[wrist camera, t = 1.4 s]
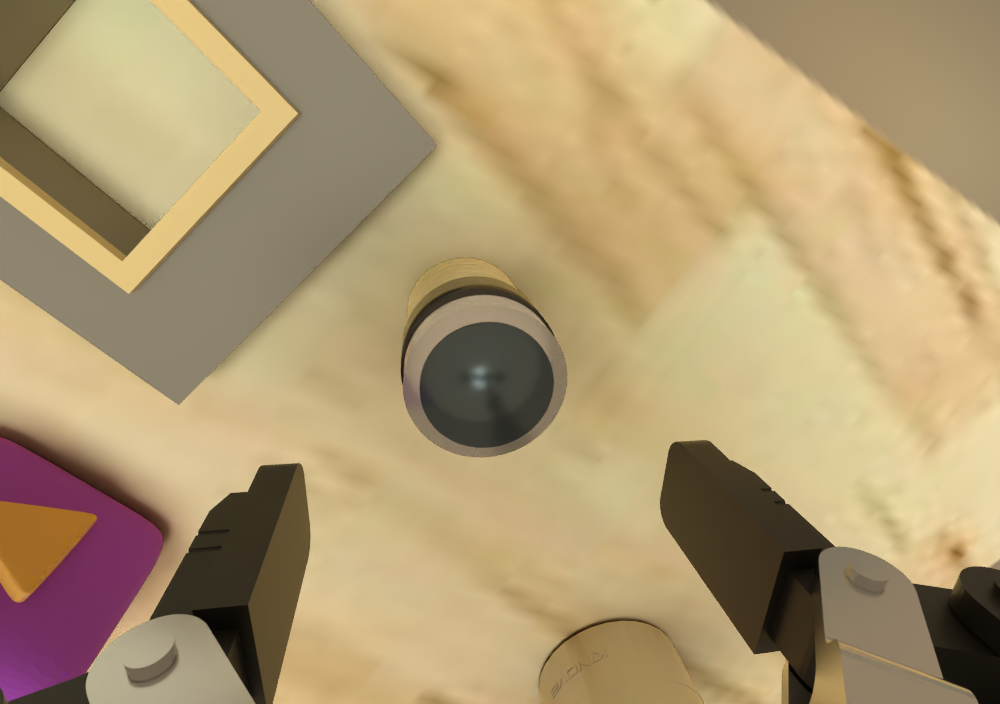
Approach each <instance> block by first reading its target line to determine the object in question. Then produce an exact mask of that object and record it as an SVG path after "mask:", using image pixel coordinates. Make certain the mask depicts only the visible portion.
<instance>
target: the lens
mask: <svg viewBox="0 0 1000 704" xmlns="http://www.w3.org/2000/svg"><path fill="white" fill-rule="evenodd" d="M401 379H402V384H403V393H404V400H405V404H406V407H407V410H408V412H409V415H410V417H411V419H412V420H413V422H414V424H415V425H416V426H417V428H418V429H419V430H420V432H421V433H422V434H423V435H424V436H426V437H427V438H428V439H429V440H430V441H432V442H433V443H434V444H436V445H437V446H439V447H441V448H443V449H445V450H447V451H450V452H452V453H455V454H459V455H463V456H470V457H491V456H497V455H502V454H506V453H509V452H512V451H514V450H517V449H519V448H521V447H523V446H525V445H526V444H528V443H530V442H531V441H533V440H534V439H535V438H537V437H538V436H539V435H540V434H541V433H542V432H543V431H544V430H545V429H546V428H547V427H548V426H549V425H550V423H551V422H552V421H553V419H554V418H555V416H556V415H557V413H558V411H559V409H560V407H561V405H562V402H563V399H564V396H565V392H566V386H567V368H566V362H565V358H564V355H563V352H562V350H561V348H560V345H559V344H558V342H557V340H556V339H555V337H554V334H553V332H552V330H551V328H550V327H549V325H548V323H547V322H546V321H545V320H544V318H543V317H542V316H541V315H540V313H539V312H538V311H537V310H536V308H535V307H534V306H533V305H532V303H531V302H530V301H529V300H528V298H527V297H526V296H525V295H523V294H522V293H521V292H520V291H519V290H517V288H516V287H515V286H514V285H513V283H512V282H511V281H510V280H509V278H508V277H507V276H506V275H505V274H504V273H503V272H502V271H501V270H499V269H498V268H497V267H495V266H493V265H492V264H490V263H488V262H485V261H482V260H478V259H474V258H457V259H451V260H448V261H445V262H442V263H440V264H438V265H436V266H434V267H433V268H431V269H430V270H429V271H427V272H426V273H425V274H424V275H423V276H422V277H421V278H420V279H419V281H418V282H417V284H416V285H415V287H414V289H413V291H412V293H411V295H410V298H409V302H408V308H407V324H406V326H405V330H404V335H403V345H402V358H401Z"/></svg>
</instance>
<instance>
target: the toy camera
mask: <svg viewBox="0 0 1000 704" xmlns="http://www.w3.org/2000/svg"><path fill="white" fill-rule="evenodd" d="M162 544H163V537H162V534H161V532H160V531H159V529H158V528H156V527H155V526H154V525H153V524H152V523H151V522H149V521H148V520H146V519H145V518H143V517H142V516H141V515H139V514H137V513H136V512H134V511H132V510H131V509H129V508H127V507H126V506H124V505H122V504H120V503H119V502H117V501H115V500H114V499H112V498H110V497H109V496H107V495H105V494H103V493H102V492H100V491H98V490H97V489H95V488H93V487H92V486H90V485H88V484H86V483H85V482H83V481H81V480H80V479H78V478H76V477H75V476H73V475H71V474H69V473H68V472H66V471H64V470H63V469H61V468H59V467H58V466H56V465H54V464H52V463H50V462H49V461H47V460H45V459H43V458H42V457H40V456H38V455H36V454H35V453H33V452H31V451H29V450H27V449H26V448H24V447H22V446H20V445H18V444H16V443H14V442H12V441H9V440H7V439H4V438H2V437H0V688H1V689H2V691H3V693H4V695H5V698H6V700H7V702H8V701H11V700H14V699H17V698H19V697H22V696H25V695H28V694H31V693H34V692H36V691H39V690H42V689H45V688H48V687H51V686H53V685H56V684H59V683H62V682H65V681H67V680H70V679H73V678H75V677H78V676H80V675H83V674H85V673H86V672H87V670H88V669H89V667H90V666H91V664H92V663H93V661H94V660H95V658H96V657H97V655H98V654H99V652H100V651H101V649H102V647H103V646H104V644H105V643H106V641H107V640H108V638H109V637H110V635H111V633H112V632H113V630H114V629H115V627H116V626H117V624H118V623H119V621H120V619H121V618H122V616H123V615H124V613H125V612H126V610H127V609H128V607H129V606H130V604H131V602H132V601H133V599H134V598H135V596H136V595H137V593H138V592H139V590H140V588H141V587H142V585H143V584H144V582H145V580H146V579H147V577H148V575H149V574H150V572H151V571H152V569H153V567H154V565H155V563H156V561H157V559H158V557H159V555H160V552H161V549H162Z"/></svg>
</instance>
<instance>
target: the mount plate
mask: <svg viewBox="0 0 1000 704" xmlns="http://www.w3.org/2000/svg"><path fill="white" fill-rule="evenodd" d="M74 1H75V0H0V90H1V89H2V88H3V87H4V85H5V84H6V83H7V82H8V81H9V79H10V78H11V77H12V76H13V75H14V73H15V72H16V71H17V70H18V68H19V67H20V66H21V65H22V64H23V62H24V61H25V60H26V59H27V58H28V56H29V55H30V54H31V53H32V52H33V50H34V49H35V48H36V47H37V45H38V44H39V43H40V42H41V41H42V39H43V38H44V37H45V36H46V35H47V33H48V32H49V31H50V30H51V28H52V27H53V26H54V25H55V24H56V22H57V21H58V20H59V19H60V18H61V16H62V15H63V14H64V13H65V12H66V10H67V9H68V8H69V7H70V5H71V4H72V3H73V2H74ZM150 1H151V2H152V3H153V4H154V5H155V6H156V7H157V8H158V9H159V10H160V11H161V12H162V13H163V14H164V15H165V16H166V17H167V18H168V19H169V20H170V21H171V22H172V23H173V24H174V25H175V26H176V27H177V28H178V29H179V30H180V31H181V32H182V33H183V34H184V35H185V36H186V37H187V38H188V39H189V40H190V41H191V42H192V43H193V44H194V45H195V46H196V47H197V48H198V49H199V50H200V51H201V52H202V53H203V54H204V55H205V56H206V57H207V58H208V59H209V60H210V61H211V62H212V63H213V64H214V65H215V66H216V67H217V68H218V69H219V70H220V71H221V72H222V73H223V74H224V75H225V76H226V77H227V78H228V79H229V80H230V81H231V82H232V83H233V84H234V85H235V86H236V87H237V88H238V89H239V90H240V91H241V92H242V93H243V94H244V95H245V96H246V97H247V98H248V99H249V100H250V101H251V102H252V103H253V104H254V105H255V106H256V107H257V108H258V109H259V110H260V113H259V114H258V115H257V116H256V117H255V118H254V119H253V120H252V121H251V122H250V123H249V125H248V126H247V127H246V128H245V129H244V130H243V131H242V132H241V133H240V134H239V135H238V136H237V138H236V139H235V140H234V141H233V142H232V143H231V144H230V145H229V146H228V147H227V148H226V149H225V151H224V152H223V153H222V154H221V155H220V156H219V157H218V158H217V159H216V160H215V161H214V162H213V164H212V165H211V166H210V167H209V168H208V169H207V170H206V171H205V172H204V173H203V174H202V175H201V177H200V178H199V179H198V180H197V181H196V182H195V183H194V184H193V185H192V186H191V187H190V189H189V190H188V191H187V192H186V193H185V194H184V195H183V196H182V197H181V198H180V199H179V200H178V202H177V203H176V204H175V205H174V206H173V207H172V208H171V209H170V210H169V211H168V212H167V213H166V215H165V216H164V217H163V218H162V219H161V220H160V221H159V222H158V223H157V224H156V225H155V226H154V228H153V229H152V230H151V231H150V230H149V229H148V228H146V227H145V226H144V225H143V224H141V223H140V222H139V221H138V220H137V219H135V218H134V217H133V216H132V215H131V214H129V213H128V212H127V211H126V210H124V209H123V208H122V207H121V206H120V205H118V204H117V203H116V202H115V201H113V200H112V199H111V198H110V197H109V196H107V195H106V194H105V193H104V192H102V191H101V190H100V189H99V188H98V187H96V186H95V185H94V184H93V183H92V182H90V181H89V180H88V179H87V178H85V177H84V176H83V175H82V174H81V173H79V172H78V171H77V170H76V169H74V168H73V167H72V166H71V165H70V164H68V163H67V162H66V161H65V160H63V159H62V158H61V157H60V156H59V155H57V154H56V153H55V152H54V151H53V150H51V149H50V148H49V147H48V146H46V145H45V144H44V143H43V142H42V141H40V140H39V139H38V138H37V137H35V136H34V135H33V134H32V133H31V132H29V131H28V130H27V129H26V128H24V127H23V126H22V125H21V124H20V123H18V122H17V121H16V120H15V119H14V118H12V117H11V116H10V115H9V114H7V113H6V112H5V111H4V110H3V109H1V108H0V280H2V281H3V282H4V283H6V284H7V285H9V286H10V287H12V288H13V289H14V290H16V291H17V292H19V293H20V294H22V295H23V296H24V297H26V298H27V299H29V300H30V301H31V302H33V303H34V304H36V305H37V306H39V307H40V308H41V309H43V310H44V311H46V312H47V313H49V314H50V315H51V316H53V317H54V318H56V319H57V320H59V321H60V322H61V323H63V324H64V325H66V326H67V327H68V328H70V329H71V330H73V331H74V332H76V333H77V334H78V335H80V336H81V337H83V338H84V339H86V340H87V341H88V342H90V343H91V344H93V345H94V346H96V347H97V348H98V349H100V350H101V351H103V352H104V353H105V354H107V355H108V356H110V357H111V358H113V359H114V360H115V361H117V362H118V363H120V364H121V365H123V366H124V367H125V368H127V369H128V370H130V371H131V372H132V373H134V374H135V375H137V376H138V377H140V378H141V379H142V380H144V381H145V382H147V383H148V384H150V385H151V386H152V387H154V388H155V389H157V390H158V391H160V392H161V393H162V394H164V395H165V396H167V397H168V398H169V399H171V400H172V401H174V402H175V403H177V404H178V405H179V404H180V403H181V402H182V401H183V400H184V399H185V398H186V397H187V396H188V395H189V394H190V393H191V392H192V391H193V390H194V389H195V388H196V387H197V386H198V385H199V384H200V383H201V382H202V381H203V380H204V379H205V378H206V377H207V376H208V375H209V374H210V373H211V372H212V371H213V370H214V369H215V368H216V367H217V366H218V365H219V364H220V363H221V362H222V361H223V360H224V359H225V358H226V357H227V356H228V355H229V354H230V353H231V352H232V351H233V350H234V349H235V348H236V347H237V346H238V345H239V344H240V343H241V342H242V341H243V340H244V339H245V338H246V337H247V336H248V335H249V334H250V333H251V332H252V331H253V330H254V329H255V328H256V327H257V326H258V325H259V324H260V323H261V322H262V321H263V320H264V319H265V318H266V317H267V316H268V315H269V314H270V313H271V312H272V311H273V310H274V309H275V308H276V307H277V306H278V305H279V304H280V303H281V302H282V301H283V300H284V299H285V298H286V297H287V296H288V295H289V294H290V293H291V292H292V291H293V290H294V289H295V288H296V287H297V286H298V285H299V284H300V283H301V282H302V281H303V280H304V279H305V278H306V277H307V276H308V275H309V274H310V273H311V272H312V271H313V270H314V269H315V268H316V267H317V266H318V265H319V264H320V263H321V262H322V261H323V260H324V259H325V258H326V257H327V256H328V255H329V254H330V253H331V252H332V251H333V250H334V249H335V248H336V247H337V246H338V245H339V244H340V243H341V242H342V240H343V239H344V238H345V237H346V236H347V235H348V234H349V233H350V232H351V231H352V230H353V229H354V228H355V227H356V226H357V225H358V224H359V223H360V222H361V221H362V220H363V219H364V218H365V217H366V216H367V215H368V214H369V213H370V212H371V211H372V210H373V209H374V208H375V207H376V206H377V205H378V204H379V203H380V202H381V201H382V200H383V199H384V198H385V197H386V196H387V195H388V194H389V193H390V192H391V191H392V190H393V189H394V188H395V187H396V186H397V185H398V184H399V183H400V182H401V181H402V180H403V179H404V178H405V177H406V176H407V175H408V174H409V173H410V172H411V171H412V170H413V169H414V168H415V167H416V166H417V165H418V164H419V163H420V162H421V161H422V160H423V159H424V158H425V157H426V156H427V155H428V154H429V153H430V152H431V151H432V150H433V149H434V148H435V147H436V146H437V144H436V143H435V142H434V141H433V140H432V139H431V138H430V136H429V135H428V134H427V133H426V132H425V131H424V130H423V128H422V127H421V126H420V125H419V124H418V123H417V122H416V120H415V119H414V118H413V117H412V116H411V115H410V114H409V113H408V111H407V110H406V109H405V108H404V107H403V106H402V105H401V103H400V102H399V101H398V100H397V99H396V98H395V97H394V96H393V94H392V93H391V92H390V91H389V90H388V89H387V88H386V86H385V85H384V84H383V83H382V82H381V81H380V80H379V79H378V77H377V76H376V75H375V74H374V73H373V72H372V71H371V69H370V68H369V67H368V66H367V65H366V64H365V63H364V62H363V60H362V59H361V58H360V57H359V56H358V55H357V54H356V52H355V51H354V50H353V49H352V48H351V47H350V46H349V45H348V43H347V42H346V41H345V40H344V39H343V38H342V37H341V35H340V34H339V33H338V32H337V31H336V30H335V29H334V28H333V26H332V25H331V24H330V23H329V22H328V21H327V20H326V18H325V17H324V16H323V15H322V14H321V13H320V12H319V10H318V9H317V8H316V7H315V6H314V5H313V4H312V3H311V1H310V0H150Z"/></svg>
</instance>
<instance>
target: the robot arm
mask: <svg viewBox="0 0 1000 704" xmlns="http://www.w3.org/2000/svg"><path fill="white" fill-rule="evenodd" d="M660 509H661V515H662V518H663V521H664V524H665V526H666V528H667V529H668V531H669V532H670V533H671V535H672V536H673V538H674V539H675V541H676V542H677V544H678V545H679V546H680V548H681V549H682V551H683V552H684V554H685V555H686V557H687V558H688V559H689V561H690V562H691V564H692V565H693V567H694V568H695V570H696V571H697V572H698V574H699V575H700V577H701V578H702V580H703V581H704V583H705V584H706V585H707V587H708V588H709V590H710V591H711V593H712V594H713V595H714V597H715V598H716V600H717V601H718V603H719V604H720V606H721V607H722V608H723V610H724V611H725V613H726V614H727V616H728V617H729V619H730V620H731V621H732V623H733V624H734V626H735V627H736V629H737V630H738V632H739V633H740V634H741V636H742V637H743V639H744V640H745V642H746V643H747V644H748V646H749V647H750V649H751V650H752V652H753V653H754V654H760V653H768V652H775V651H781V653H782V654H783V655H784V657H785V658H786V661H785V664H784V667H783V670H782V704H1000V570H997V569H992V568H987V567H968V568H965V569H963V570H962V571H961V573H960V575H959V577H958V579H957V582H956V584H955V586H954V588H953V590H952V589H945V588H939V587H932V586H926V585H919V584H912V583H911V581H910V580H909V579H908V578H907V577H906V576H905V575H904V574H903V573H902V572H901V571H899V570H898V569H897V568H895V567H894V566H893V565H891V564H889V563H888V562H886V561H885V560H883V559H881V558H879V557H877V556H874V555H872V554H870V553H867V552H864V551H861V550H858V549H854V548H848V547H835V546H834V545H833V544H832V543H831V542H829V541H828V540H827V539H826V538H825V537H824V536H823V535H822V534H821V533H820V532H819V531H817V530H816V529H815V528H814V527H813V526H812V525H811V524H810V523H809V522H808V521H807V520H805V519H804V518H803V517H802V516H801V515H800V514H799V513H798V512H797V511H796V510H795V509H793V508H792V507H791V506H790V505H789V504H785V500H784V499H783V498H781V497H780V496H779V495H778V494H777V493H776V492H775V491H772V490H771V487H770V486H768V485H767V484H766V483H765V482H764V481H763V480H762V479H761V478H760V477H759V476H758V475H756V474H755V473H754V472H752V471H750V470H749V469H747V468H745V467H743V466H741V465H739V464H738V463H736V462H734V461H730V460H729V459H728V458H727V457H726V456H725V455H724V454H723V453H722V452H721V451H720V450H718V449H717V448H716V447H715V446H714V445H713V444H712V443H711V442H710V441H707V440H700V441H683V442H674V443H673V444H672V445H671V446H670V449H669V452H668V458H667V464H666V469H665V475H664V481H663V487H662V492H661V498H660ZM309 550H310V522H309V513H308V505H307V496H306V487H305V479H304V471H303V467H302V465H301V464H300V463H296V464H280V465H263V466H260V468H259V469H258V471H257V473H256V475H255V478H254V480H253V482H252V484H251V486H250V488H249V490H248V492H240V493H230V494H229V495H228V496H227V497H226V498H225V499H223V500H222V501H221V502H220V503H219V504H217V505H216V506H215V507H214V508H213V509H212V510H210V511H209V513H208V515H207V517H206V519H205V520H204V522H203V524H202V526H201V528H200V530H199V531H198V536H196V537H195V539H194V540H193V542H192V544H191V546H190V548H189V553H186V555H185V557H184V558H183V560H182V562H181V564H180V566H179V567H178V569H177V571H176V573H175V575H174V576H173V578H172V580H171V582H170V584H169V586H168V587H167V589H166V591H165V593H164V595H163V596H162V598H161V600H160V602H159V604H158V605H157V607H156V609H155V611H154V613H153V614H152V616H151V618H150V620H149V621H147V622H144V623H142V624H140V625H138V626H136V627H134V628H132V629H131V630H129V631H127V632H126V633H124V634H123V635H121V636H120V637H118V638H117V639H116V640H115V641H114V642H112V643H111V644H110V645H109V646H108V647H107V648H106V649H105V650H104V651H103V652H102V653H101V654H100V655H99V657H98V658H97V659H96V661H95V662H94V664H93V665H92V667H91V669H90V671H89V672H87V673H85V674H83V675H80V676H78V677H75V678H73V679H70V680H67V681H65V682H62V683H59V684H56V685H53V686H51V687H48V688H45V689H42V690H39V691H36V692H34V693H31V694H28V695H25V696H22V697H19V698H17V699H14V700H11V701H8V702H7V700H6V698H5V695H4V693H3V691H2V689H1V688H0V704H273V700H274V696H275V692H276V688H277V684H278V679H279V675H280V671H281V667H282V663H283V659H284V655H285V651H286V647H287V643H288V639H289V635H290V631H291V626H292V622H293V618H294V614H295V610H296V606H297V602H298V598H299V594H300V590H301V586H302V582H303V577H304V573H305V569H306V565H307V561H308V557H309ZM539 690H540V697H541V702H542V704H704V702H703V700H702V698H701V696H700V694H699V693H698V691H697V689H696V687H695V685H694V683H693V681H692V679H691V677H690V676H689V674H688V672H687V670H686V668H685V666H684V664H683V662H682V661H681V659H680V657H679V655H678V653H677V651H676V649H675V647H674V645H673V644H672V642H671V641H670V639H669V637H668V636H667V635H666V634H664V633H663V632H662V631H661V630H660V629H658V628H656V627H654V626H652V625H650V624H646V623H642V622H637V621H615V622H608V623H604V624H600V625H597V626H594V627H591V628H589V629H586V630H584V631H582V632H580V633H578V634H576V635H575V636H573V637H572V638H570V639H569V640H567V641H566V642H564V643H563V644H562V645H561V646H560V647H559V648H558V649H557V650H556V651H555V652H554V653H553V654H552V656H551V657H550V658H549V660H548V661H547V662H546V664H545V666H544V669H543V671H542V673H541V676H540V682H539Z"/></svg>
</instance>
